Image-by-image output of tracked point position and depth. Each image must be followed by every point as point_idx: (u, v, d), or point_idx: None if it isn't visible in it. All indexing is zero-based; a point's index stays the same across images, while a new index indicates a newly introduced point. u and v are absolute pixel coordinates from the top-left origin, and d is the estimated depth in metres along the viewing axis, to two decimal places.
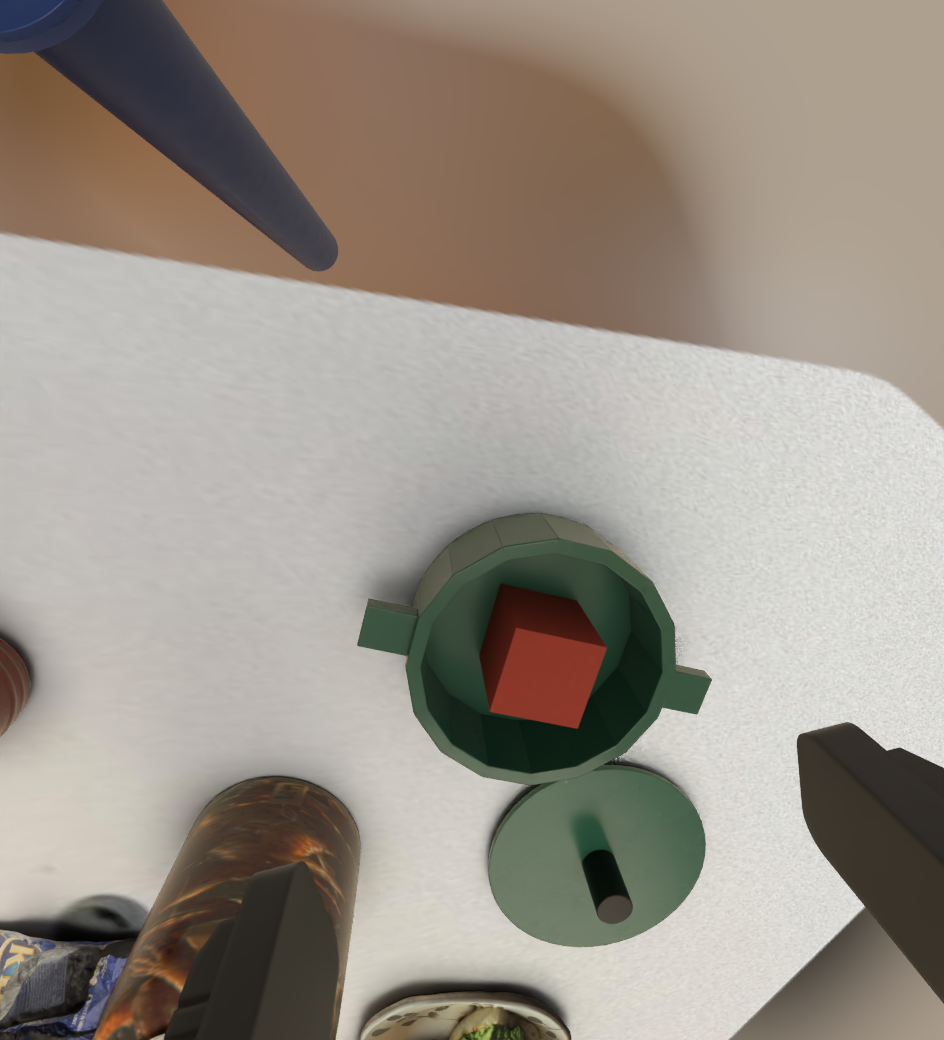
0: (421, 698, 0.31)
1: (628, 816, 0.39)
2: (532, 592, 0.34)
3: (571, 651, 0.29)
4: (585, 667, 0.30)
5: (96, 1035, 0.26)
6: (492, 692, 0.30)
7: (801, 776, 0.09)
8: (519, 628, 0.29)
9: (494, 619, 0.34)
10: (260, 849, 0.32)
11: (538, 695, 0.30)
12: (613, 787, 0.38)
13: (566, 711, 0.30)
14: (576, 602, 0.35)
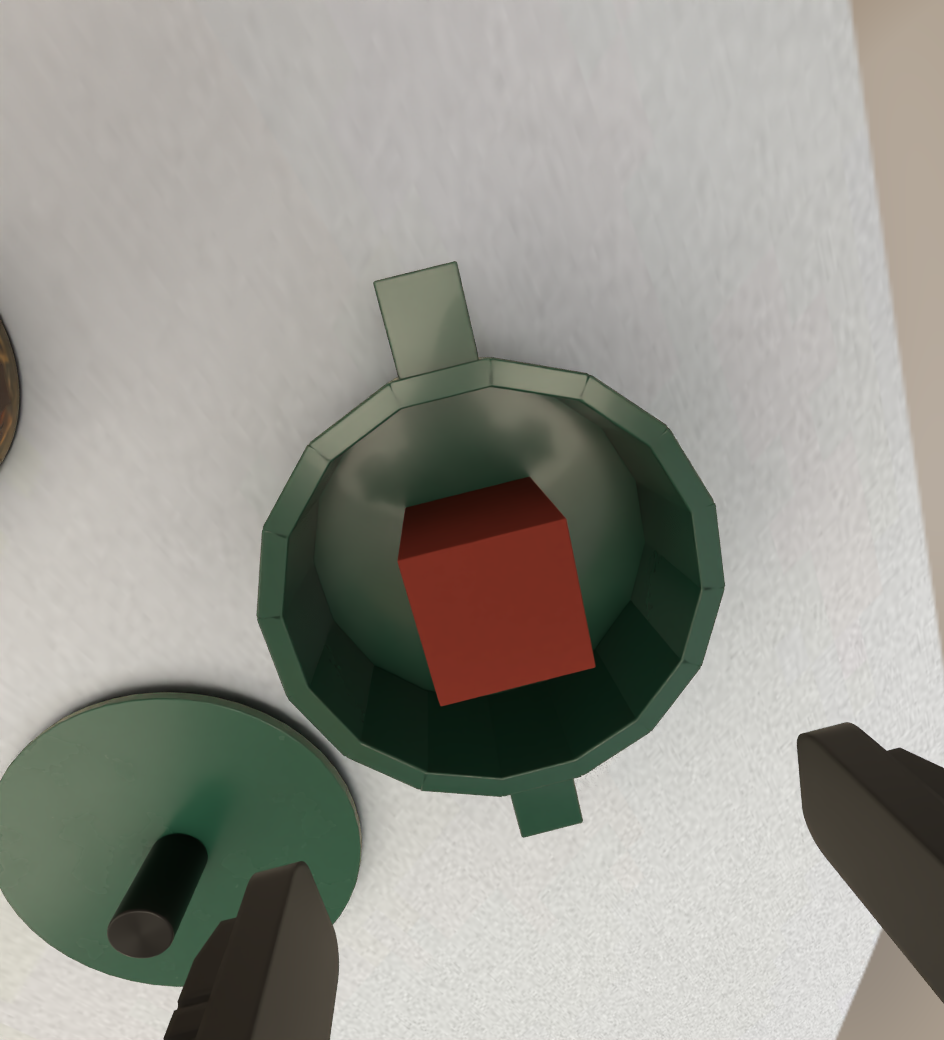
0: (344, 441, 0.16)
1: (279, 844, 0.25)
2: None
3: (565, 622, 0.17)
4: (548, 657, 0.17)
5: None
6: (425, 547, 0.17)
7: (801, 776, 0.09)
8: (567, 524, 0.16)
9: (485, 495, 0.21)
10: None
11: (467, 617, 0.17)
12: (312, 800, 0.25)
13: (460, 673, 0.17)
14: None
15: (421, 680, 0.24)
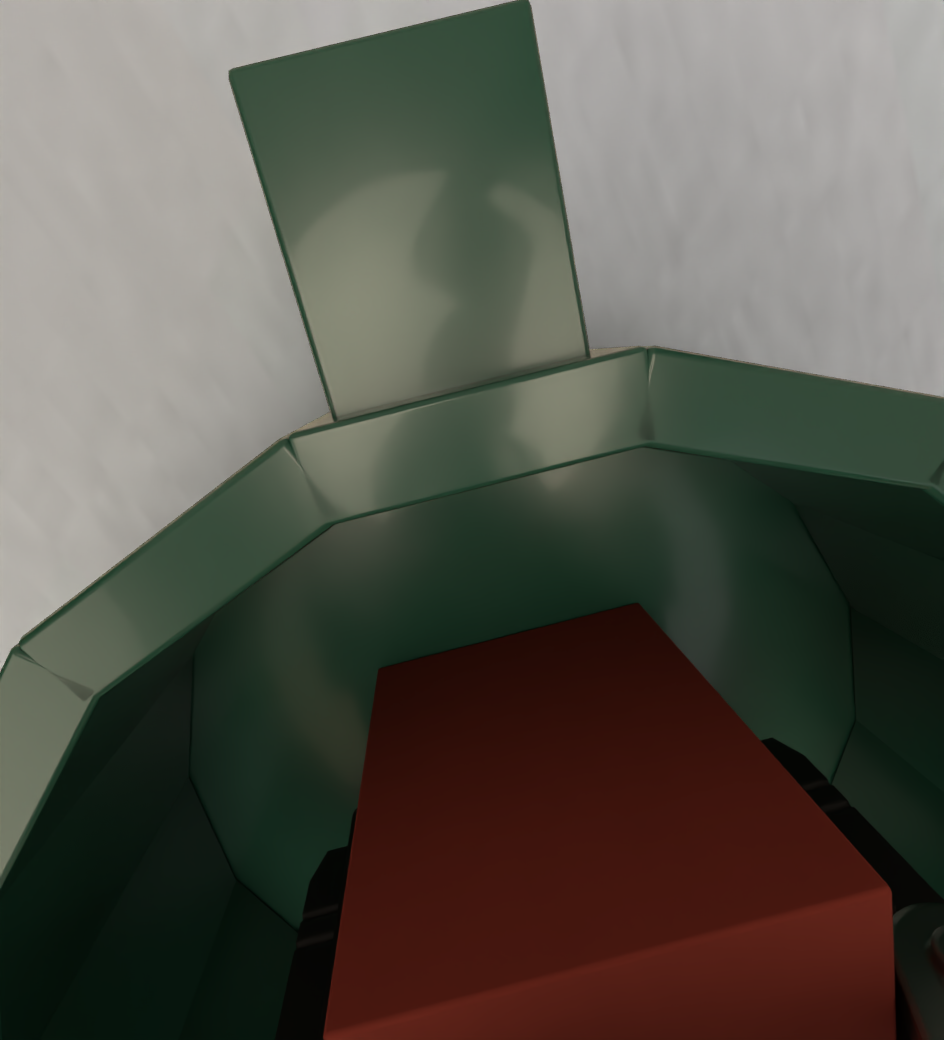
0: (141, 633, 0.05)
1: None
2: None
3: None
4: None
5: None
6: (418, 948, 0.05)
7: None
8: None
9: (554, 658, 0.09)
10: None
11: None
12: None
13: None
14: None
15: None
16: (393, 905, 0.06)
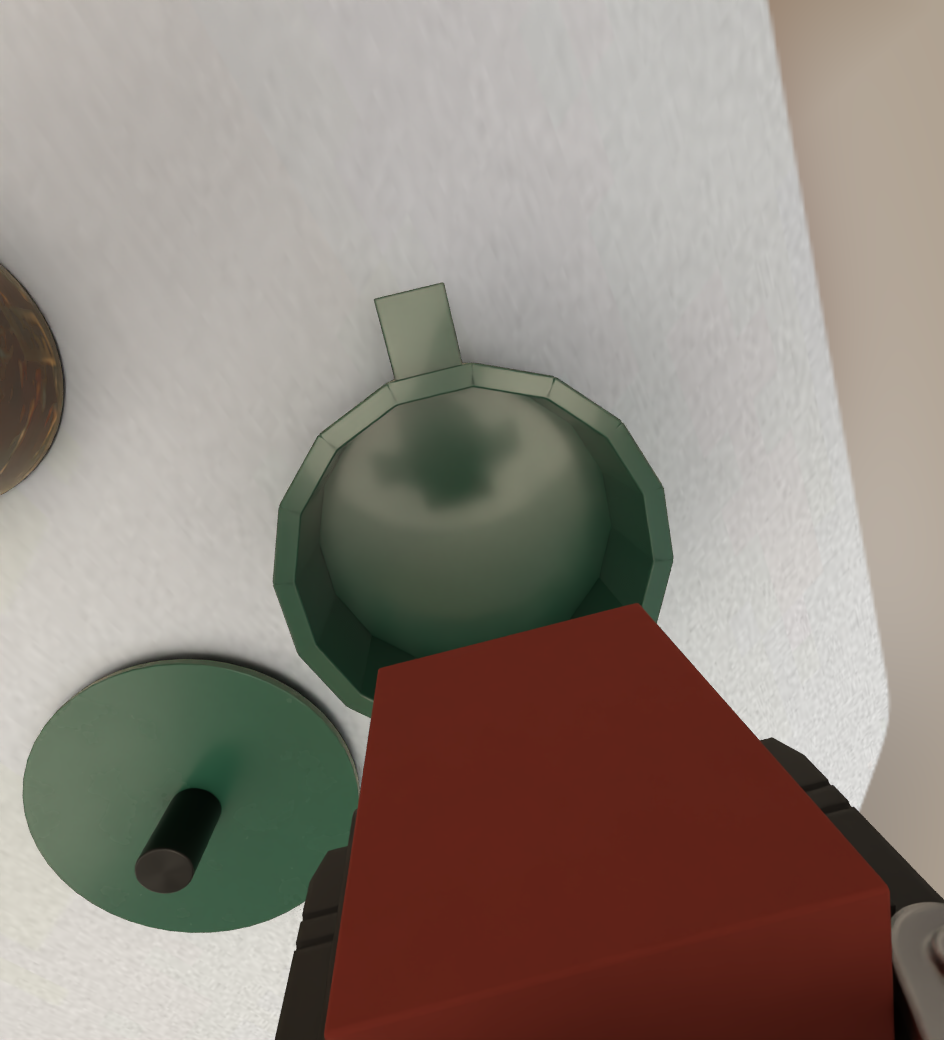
0: (349, 432, 0.19)
1: (285, 799, 0.28)
2: None
3: None
4: None
5: None
6: (418, 947, 0.05)
7: None
8: (889, 902, 0.05)
9: (554, 658, 0.09)
10: None
11: None
12: (315, 758, 0.27)
13: None
14: None
15: (414, 649, 0.27)
16: (393, 904, 0.06)
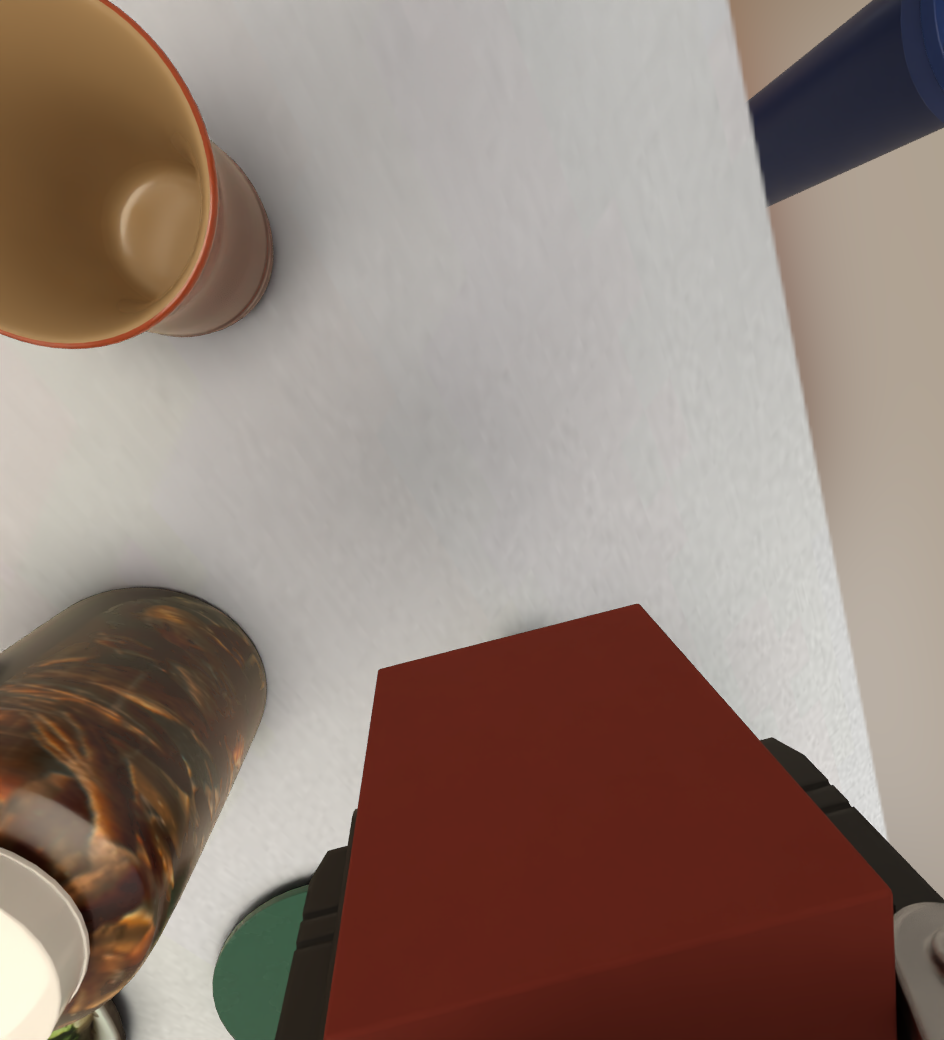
0: None
1: None
2: None
3: None
4: None
5: None
6: (418, 950, 0.05)
7: None
8: (892, 906, 0.05)
9: (554, 659, 0.09)
10: (220, 720, 0.24)
11: None
12: None
13: None
14: None
15: None
16: (393, 907, 0.06)
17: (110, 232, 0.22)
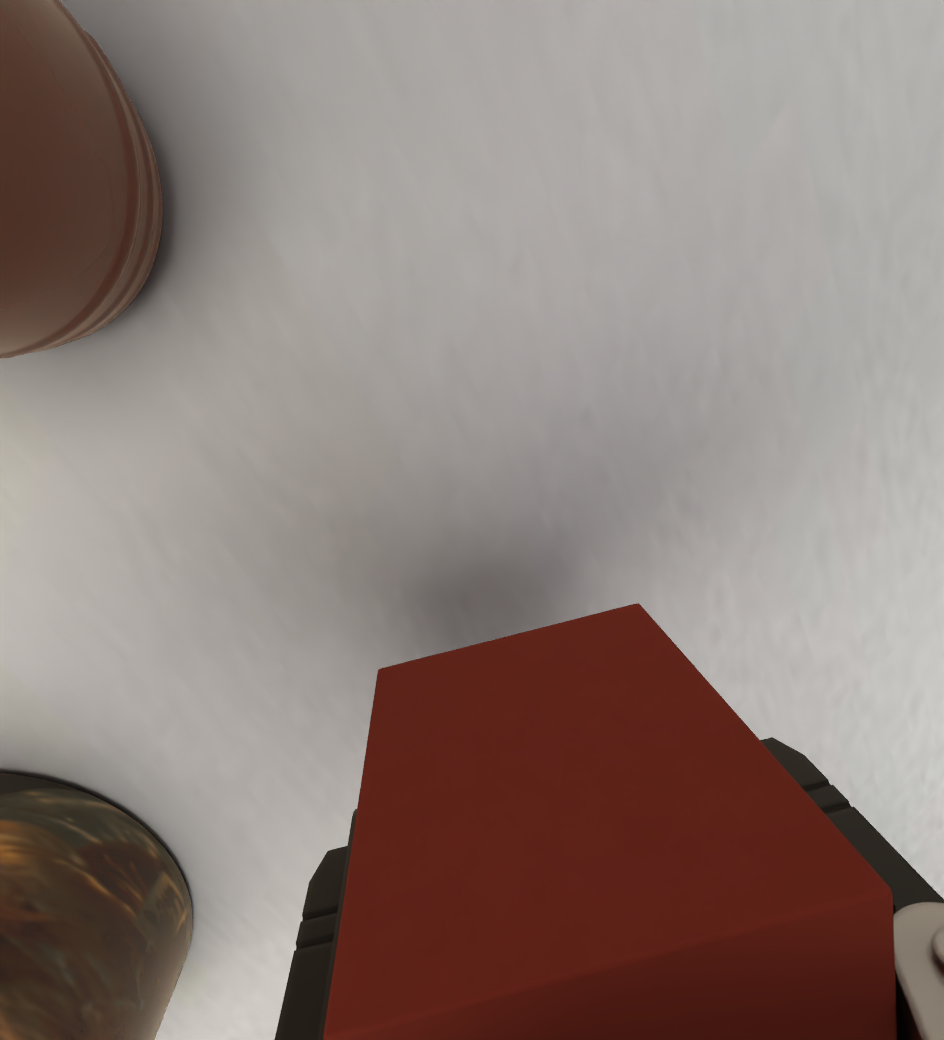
0: None
1: None
2: None
3: None
4: None
5: None
6: (418, 950, 0.05)
7: None
8: (892, 905, 0.05)
9: (554, 659, 0.09)
10: None
11: None
12: None
13: None
14: None
15: None
16: (393, 906, 0.06)
17: None
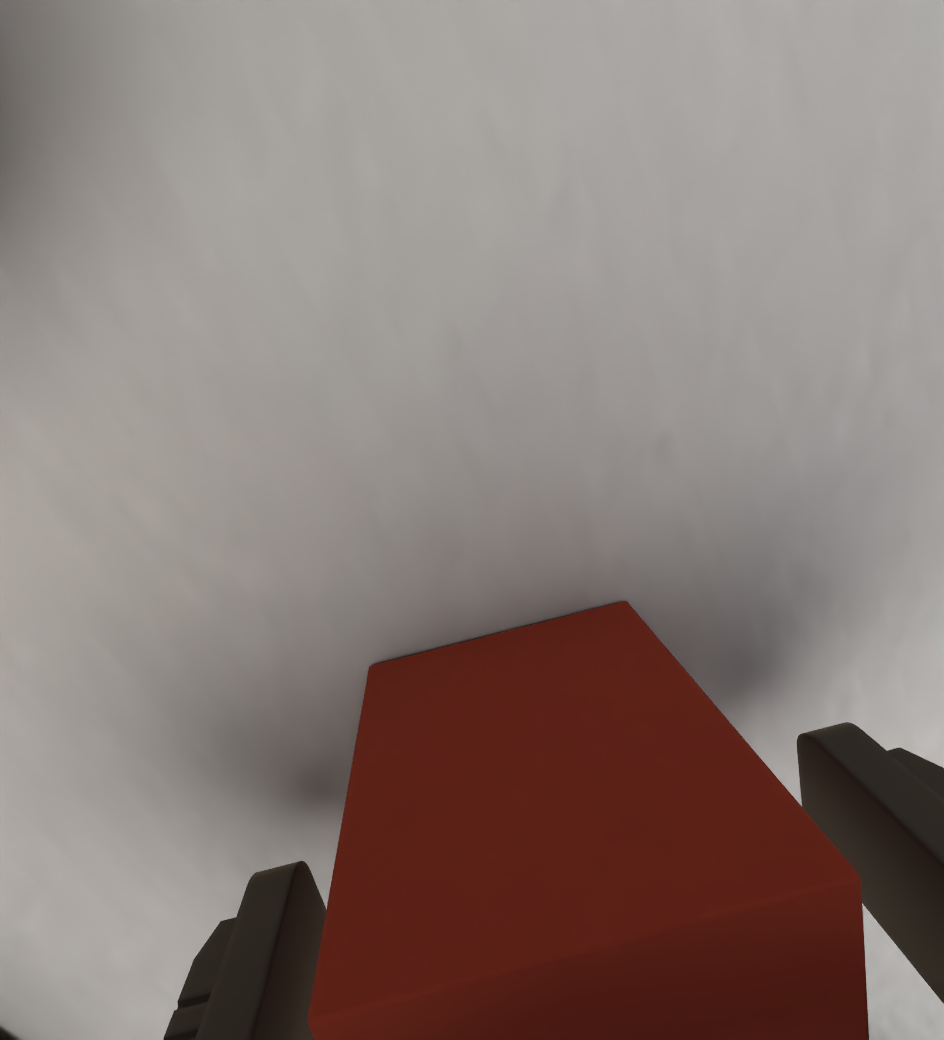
0: None
1: None
2: None
3: None
4: None
5: None
6: (401, 936, 0.05)
7: (801, 776, 0.09)
8: (860, 891, 0.05)
9: (542, 655, 0.10)
10: None
11: None
12: None
13: None
14: None
15: None
16: (378, 895, 0.06)
17: None
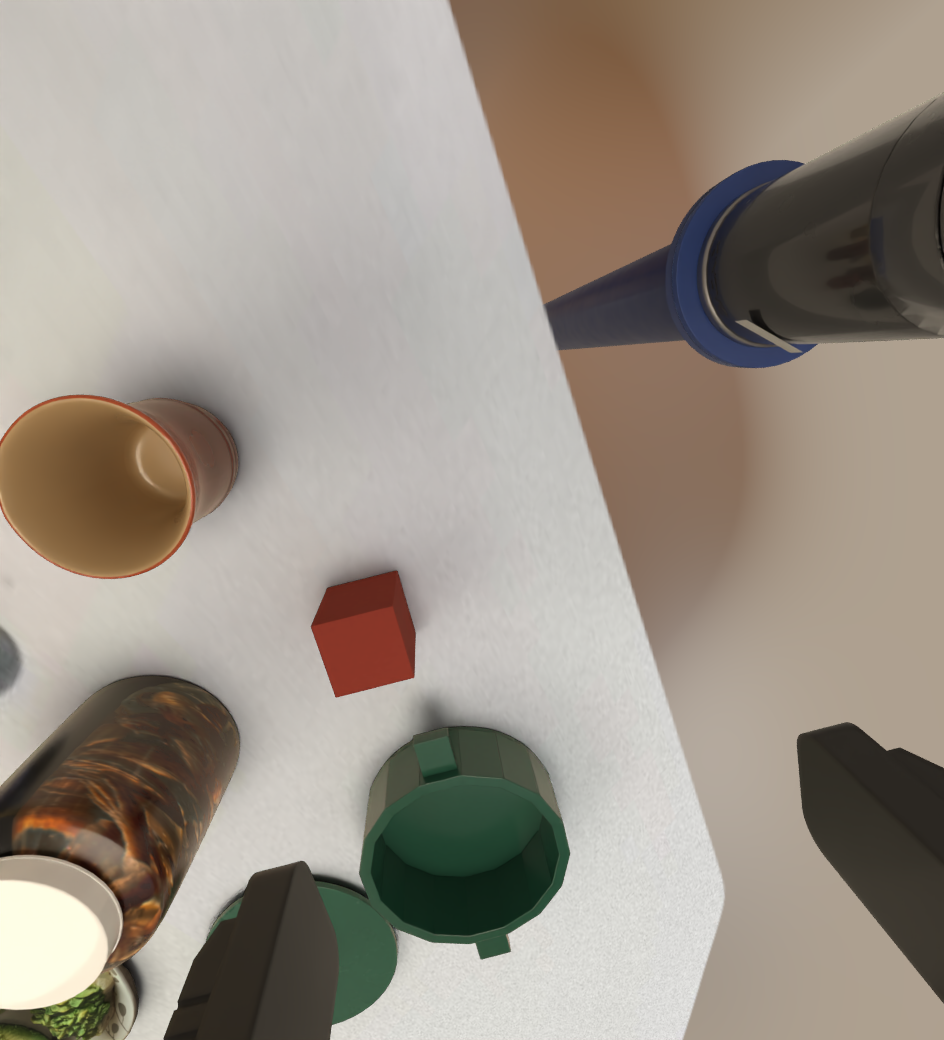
0: (400, 807, 0.38)
1: (354, 954, 0.47)
2: (404, 597, 0.40)
3: (396, 655, 0.35)
4: (389, 672, 0.35)
5: (30, 815, 0.28)
6: (325, 619, 0.34)
7: (801, 776, 0.09)
8: (393, 608, 0.34)
9: (369, 583, 0.38)
10: (204, 774, 0.36)
11: (346, 653, 0.34)
12: (372, 932, 0.46)
13: (345, 681, 0.35)
14: (415, 633, 0.40)
15: (430, 870, 0.46)
16: (323, 616, 0.35)
17: (129, 457, 0.34)
